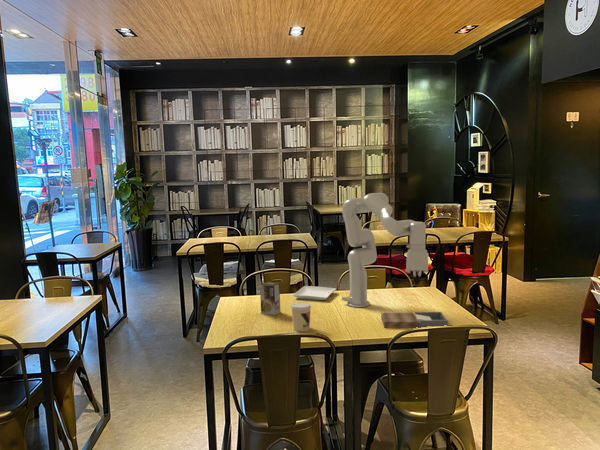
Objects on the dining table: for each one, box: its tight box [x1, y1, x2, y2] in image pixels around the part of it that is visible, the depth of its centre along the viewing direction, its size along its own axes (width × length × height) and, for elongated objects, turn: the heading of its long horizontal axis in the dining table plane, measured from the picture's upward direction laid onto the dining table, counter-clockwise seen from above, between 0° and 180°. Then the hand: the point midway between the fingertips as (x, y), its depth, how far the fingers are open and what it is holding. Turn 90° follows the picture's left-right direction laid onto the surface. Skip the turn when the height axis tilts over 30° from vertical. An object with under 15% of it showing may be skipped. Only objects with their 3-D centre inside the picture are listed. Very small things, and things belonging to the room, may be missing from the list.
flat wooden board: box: [380, 312, 419, 329], centre depth 236 cm, size 16×14×3 cm
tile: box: [414, 314, 431, 323], centre depth 235 cm, size 7×7×2 cm
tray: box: [414, 311, 449, 328], centre depth 235 cm, size 14×14×4 cm
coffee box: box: [259, 281, 281, 316], centre depth 256 cm, size 9×6×16 cm
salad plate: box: [292, 285, 337, 301], centre depth 288 cm, size 21×21×3 cm
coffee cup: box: [291, 301, 312, 332], centre depth 231 cm, size 9×9×12 cm
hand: (416, 283), depth 235 cm, fingers closed
